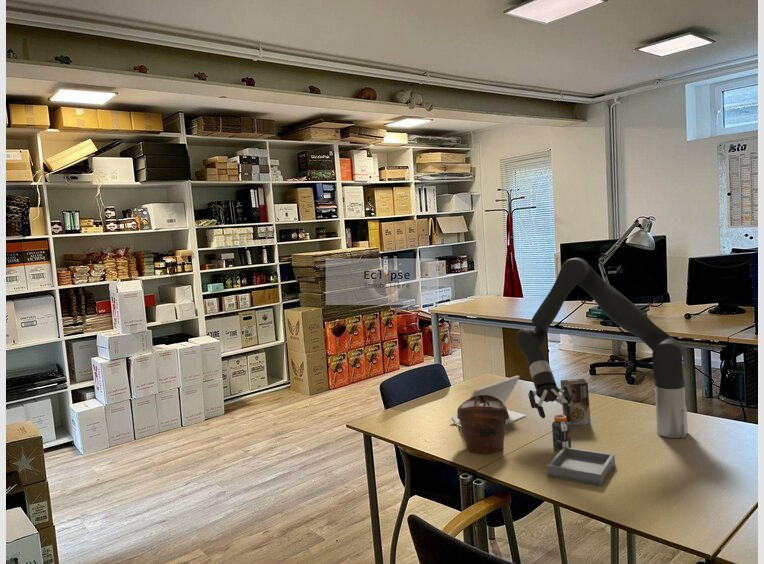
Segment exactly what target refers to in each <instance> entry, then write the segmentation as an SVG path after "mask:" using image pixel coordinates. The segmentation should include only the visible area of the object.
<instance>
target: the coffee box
mask: <svg viewBox="0 0 764 564" xmlns="http://www.w3.org/2000/svg"><path fill="white" fill-rule="evenodd" d="M564 386H565V387H567V390H568V392H569V394H570V396H571V399H572V401H571V403H570V404H568V406H569V409H570V413H569V415H568V416H566V415H565V412H564V409H563V405H561V406H562V415H565V416H566V417H567V422H569V424H570V426H579V424H580V425H591V424H592V423H591V410H590V409H591V408H590V398H589V397H590V395H589V383H588V382H587V381H586V379H585V378H574V379H573V378H572V379H571V378H570V379H562V380H561V379H560V388H563V387H564ZM560 393H561V392H560ZM560 395H561V396H562V397H563V398H564V399H565V397H564V395H563V394H562V393H561V394H560Z"/></svg>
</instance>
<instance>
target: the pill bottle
mask: <svg viewBox="0 0 764 564" xmlns="http://www.w3.org/2000/svg"><path fill="white" fill-rule="evenodd" d="M553 417H554V419H553V420H554V421H553V422H552V424H551V429H552V431H551V432H552V433H551V434H552V447H553V449H555V450H557V451H559V452H560V450H561V449H562V448H563V447H569V448H572V439H571V437H572V436H571V425H570V424H569V422H567V417H566V416H565V415H563V414H556V415H554V416H553Z"/></svg>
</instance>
